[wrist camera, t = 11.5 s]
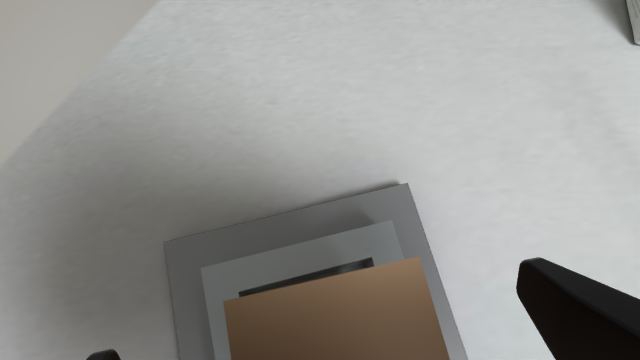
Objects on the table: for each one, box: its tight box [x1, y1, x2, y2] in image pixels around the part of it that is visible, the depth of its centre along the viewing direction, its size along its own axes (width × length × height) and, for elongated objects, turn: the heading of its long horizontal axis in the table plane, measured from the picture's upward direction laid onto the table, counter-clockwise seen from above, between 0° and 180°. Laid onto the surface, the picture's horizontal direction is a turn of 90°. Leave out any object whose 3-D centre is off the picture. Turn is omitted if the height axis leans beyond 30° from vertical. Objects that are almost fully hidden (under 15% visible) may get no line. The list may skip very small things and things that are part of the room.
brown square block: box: [223, 256, 450, 360], centre depth 14 cm, size 4×4×12 cm
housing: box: [164, 183, 468, 360], centre depth 19 cm, size 14×14×4 cm
